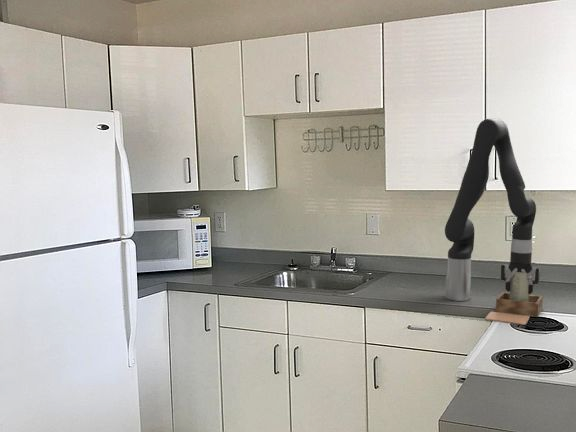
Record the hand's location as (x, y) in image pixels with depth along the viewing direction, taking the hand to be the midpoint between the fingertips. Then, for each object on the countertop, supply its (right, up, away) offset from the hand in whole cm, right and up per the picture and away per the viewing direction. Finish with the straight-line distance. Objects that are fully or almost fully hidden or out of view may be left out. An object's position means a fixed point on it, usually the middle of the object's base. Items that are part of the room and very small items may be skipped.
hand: (519, 292), depth 240 cm
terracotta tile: (-8, -8, -10) cm, 15 cm away
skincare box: (0, -4, +1) cm, 4 cm away
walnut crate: (0, -7, +1) cm, 7 cm away
